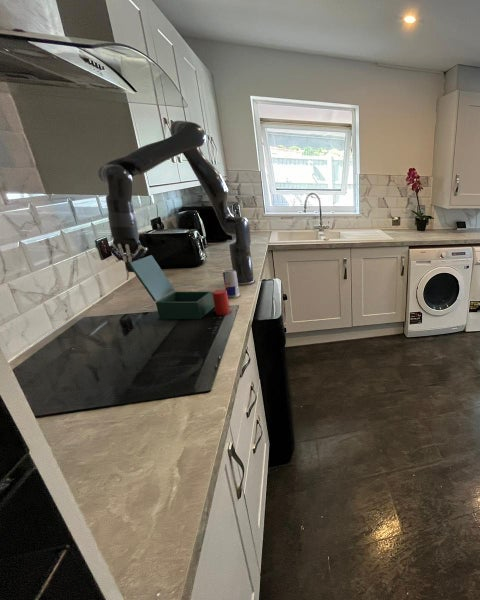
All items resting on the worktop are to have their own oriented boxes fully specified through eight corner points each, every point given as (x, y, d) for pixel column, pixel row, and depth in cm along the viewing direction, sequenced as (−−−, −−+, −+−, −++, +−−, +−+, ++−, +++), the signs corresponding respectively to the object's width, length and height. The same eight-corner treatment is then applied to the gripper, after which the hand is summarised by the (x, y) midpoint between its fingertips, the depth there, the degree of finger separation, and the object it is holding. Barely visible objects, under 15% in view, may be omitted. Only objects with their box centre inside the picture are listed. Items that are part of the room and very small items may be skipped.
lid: (151, 254, 125) (149, 255, 125) (129, 262, 113) (127, 263, 113) (175, 289, 131) (173, 290, 131) (156, 300, 119) (154, 301, 119)
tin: (219, 310, 132) (215, 289, 129) (231, 310, 132) (228, 289, 129) (213, 315, 127) (209, 293, 124) (227, 315, 128) (223, 293, 124)
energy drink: (223, 296, 146) (219, 271, 142) (234, 293, 150) (230, 268, 146) (231, 299, 144) (227, 273, 140) (242, 295, 148) (238, 270, 144)
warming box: (214, 306, 135) (212, 291, 133) (200, 319, 123) (197, 302, 121) (177, 306, 133) (174, 291, 131) (159, 319, 122) (155, 302, 119)
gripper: (150, 225, 119) (157, 270, 125) (111, 222, 118) (120, 268, 123) (136, 227, 112) (144, 275, 118) (94, 224, 111) (105, 273, 116)
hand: (132, 271), depth 120 cm, fingers closed
